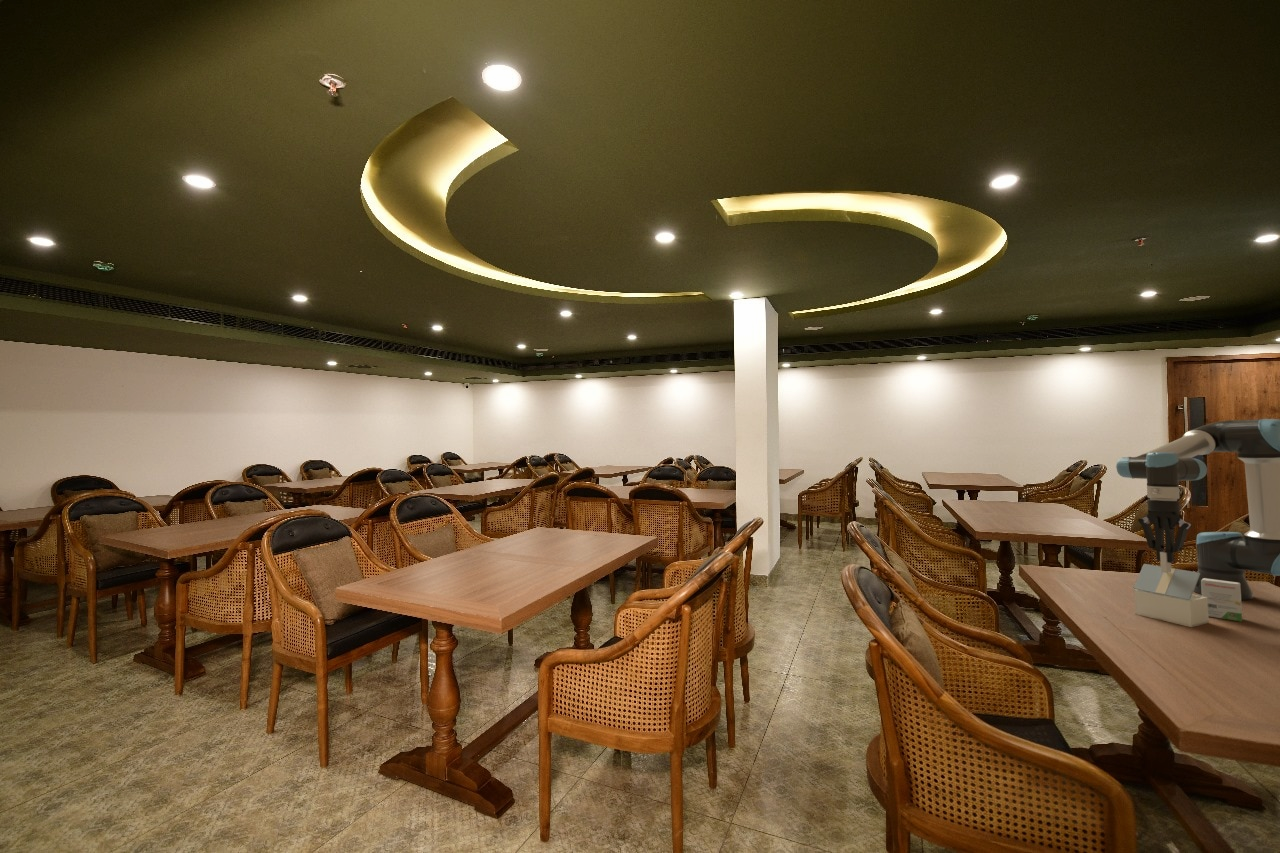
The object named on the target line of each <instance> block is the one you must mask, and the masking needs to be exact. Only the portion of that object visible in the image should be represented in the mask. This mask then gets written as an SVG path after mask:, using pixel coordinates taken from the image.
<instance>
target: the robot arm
mask: <svg viewBox="0 0 1280 853" xmlns="http://www.w3.org/2000/svg"><path fill="white" fill-rule="evenodd" d="M1212 453H1236V456H1237V459H1239V460H1240V461H1242V462H1243V463H1244V471H1245V472H1244V474H1245V484H1246V485H1245V486H1246V495H1247V496H1246V497H1247V505H1248V506H1247V508H1248V517H1249V518H1248V519H1249V520H1248V521H1249V530H1248V531H1246V532H1245V533H1244V534H1242V533H1241V532H1237V531H1204V532H1199V533H1198V534H1197V535H1196V543H1195V545H1196V557H1197V572H1198V573H1200V576H1199V579H1198V581H1197V584H1196V586H1195V589H1194V591H1193V593H1197V594H1200V595H1202V592H1201V580H1202V579H1203V578H1207V579H1214V580H1222V581H1230V582H1238V583H1240V589H1241V601H1245V600H1246V601H1247V600H1248V601H1249V600H1253V599H1254V595H1253V590H1252V588H1251V587H1250V585H1249V583H1248V580H1247V579H1246V576H1245V571H1248V572H1253V573H1260V574H1261V573H1262V574H1268V575H1272V576H1275V577H1278V576H1279V577H1280V419H1277V418H1257V419H1237V420H1236V419H1234V420H1220V421H1216V422H1212V423H1207V424H1204V425H1201V426H1199V427H1196V428H1193V429H1190V430H1188V431H1187V432H1185V433H1184V434H1183V435H1182V437H1180V438H1177V439H1175V440H1173V441H1171V442H1167V443H1166V444H1164V445H1161V446H1159V447H1156V448H1155V449H1152V450H1149V451H1146V452H1145V453H1142V454H1140V455H1137V456H1127V457H1126V456H1125V457H1121V458H1119V459H1118V460H1117V462H1116V465H1115V468H1116V471H1117V474H1118V475H1119V476H1120V477H1121V478H1127V479H1128V478H1129V479H1132V480H1133V479H1141V480H1144V479H1145V480H1146V495H1147V496H1146V497H1147V498H1148V500H1147V504H1146V505H1147V513H1146V516H1145V517H1142V518H1138V519H1137V522H1138V523H1139V524H1140V525H1141V527H1142V531H1143V533H1144V537H1145V540H1146V543H1147V546H1148V548H1149V549H1152V550H1155V552H1156V561H1158V562H1160V563H1159V564H1160V565H1159V566H1161V572H1164V573H1169V572H1171V568H1172V563H1175V553H1177V552H1182V551H1183V548H1184V544H1185V541H1186V538H1187V534H1188V531H1189V529H1190V528H1191V527H1192V526H1193V524H1192V523H1191V522H1187V521H1185V520H1184V519H1183V517H1182V516H1181V514H1180V513H1181V506H1180V505H1181V503H1180V501H1179V499H1180V483H1179V482H1182V481H1183V482H1184V481H1187V482H1193V481H1199V480H1201V479H1203V478H1204V477H1206V475H1207V473H1208V467H1207V465H1206V463H1205V462H1204V461H1202V460H1200V459H1198V458H1194V457H1196V456H1203V455H1208V454H1209V455H1210V454H1212ZM1150 523H1151V524H1152V525H1153V529H1152V527H1151V524H1150ZM1177 525H1178V527H1179V528H1178V530H1177V534H1176V538H1175V530H1176V527H1177ZM1153 530H1154V532H1153Z"/></svg>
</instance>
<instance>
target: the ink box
mask: <svg viewBox="0 0 1280 853" xmlns="http://www.w3.org/2000/svg"><path fill="white" fill-rule="evenodd" d="M1201 592H1202V594H1201V596H1203V597H1207V601H1208V617H1210V618H1211V617H1212V618H1217V619H1221V620H1229V621H1235V622H1241V623H1242V622H1243V605H1242V600H1241V589H1240V583H1238V582H1230V581H1222V580H1214V579H1207V578H1203V579H1202V580H1201Z"/></svg>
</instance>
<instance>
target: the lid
mask: <svg viewBox="0 0 1280 853" xmlns="http://www.w3.org/2000/svg"><path fill="white" fill-rule="evenodd" d="M1199 576H1200V573H1198V571H1191V570H1185V569H1180V568H1179V569H1178V568H1173V567H1171V572H1169V573H1164V572H1161V566H1160V565H1154V564H1148V563H1143V565H1142V567H1141V569H1140V572H1139V574H1138V576H1137V579H1136V581H1135V584H1134V586H1133V590H1136V589H1137V590H1142V591H1147V592H1152V593H1156V594H1161V595H1166V596H1171V597H1176V598H1181V599H1186V600H1190V599H1191V596H1192V594H1193V595H1194V589H1195V586H1196V584H1197V581H1198V579H1199Z"/></svg>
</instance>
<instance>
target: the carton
mask: <svg viewBox="0 0 1280 853" xmlns="http://www.w3.org/2000/svg"><path fill="white" fill-rule="evenodd" d="M1133 591H1134V592H1133V593H1134V612H1135V614H1134V615H1137V616H1142V617H1146V618H1152V619H1155V620H1158V621H1164V622H1168V623H1172V624H1176V625H1180V626H1185V627H1190V628H1194V627H1199V626H1202V625H1205V624H1208V623H1209V622H1210V621H1209V616H1208V601H1207V597H1203V596H1202V595H1198V594H1197V595H1196V594H1194V593H1193V594H1192V596H1191V599H1190V600H1186V599H1181V598H1176V597H1171V596H1166V595H1161V594H1156V593H1152V592H1147V591H1142V590H1137V589H1133Z"/></svg>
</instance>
